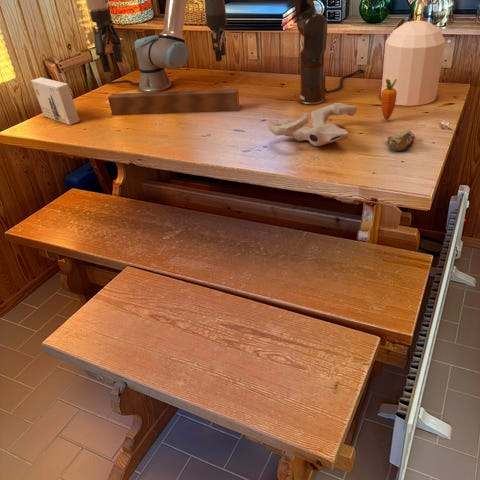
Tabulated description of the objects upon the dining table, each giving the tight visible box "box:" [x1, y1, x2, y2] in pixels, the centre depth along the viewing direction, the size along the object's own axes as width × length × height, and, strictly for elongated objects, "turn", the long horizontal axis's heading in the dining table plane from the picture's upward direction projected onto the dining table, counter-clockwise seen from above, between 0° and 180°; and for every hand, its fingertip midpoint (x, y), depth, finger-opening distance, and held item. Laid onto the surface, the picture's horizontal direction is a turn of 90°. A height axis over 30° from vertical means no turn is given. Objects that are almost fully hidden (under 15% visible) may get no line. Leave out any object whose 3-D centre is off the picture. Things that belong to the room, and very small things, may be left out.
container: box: [380, 20, 446, 107], centre depth 176 cm, size 21×21×28 cm
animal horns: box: [267, 102, 358, 147], centre depth 155 cm, size 28×26×12 cm
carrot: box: [380, 79, 397, 122], centre depth 161 cm, size 5×5×15 cm
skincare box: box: [30, 76, 81, 126], centre depth 193 cm, size 21×5×16 cm, turn 49°
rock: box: [387, 129, 416, 152], centre depth 146 cm, size 11×6×10 cm
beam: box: [107, 88, 241, 116], centre depth 192 cm, size 54×5×8 cm, turn 82°
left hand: (113, 67), depth 187 cm, fingers open, 13 cm apart
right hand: (221, 58), depth 179 cm, fingers open, 8 cm apart
